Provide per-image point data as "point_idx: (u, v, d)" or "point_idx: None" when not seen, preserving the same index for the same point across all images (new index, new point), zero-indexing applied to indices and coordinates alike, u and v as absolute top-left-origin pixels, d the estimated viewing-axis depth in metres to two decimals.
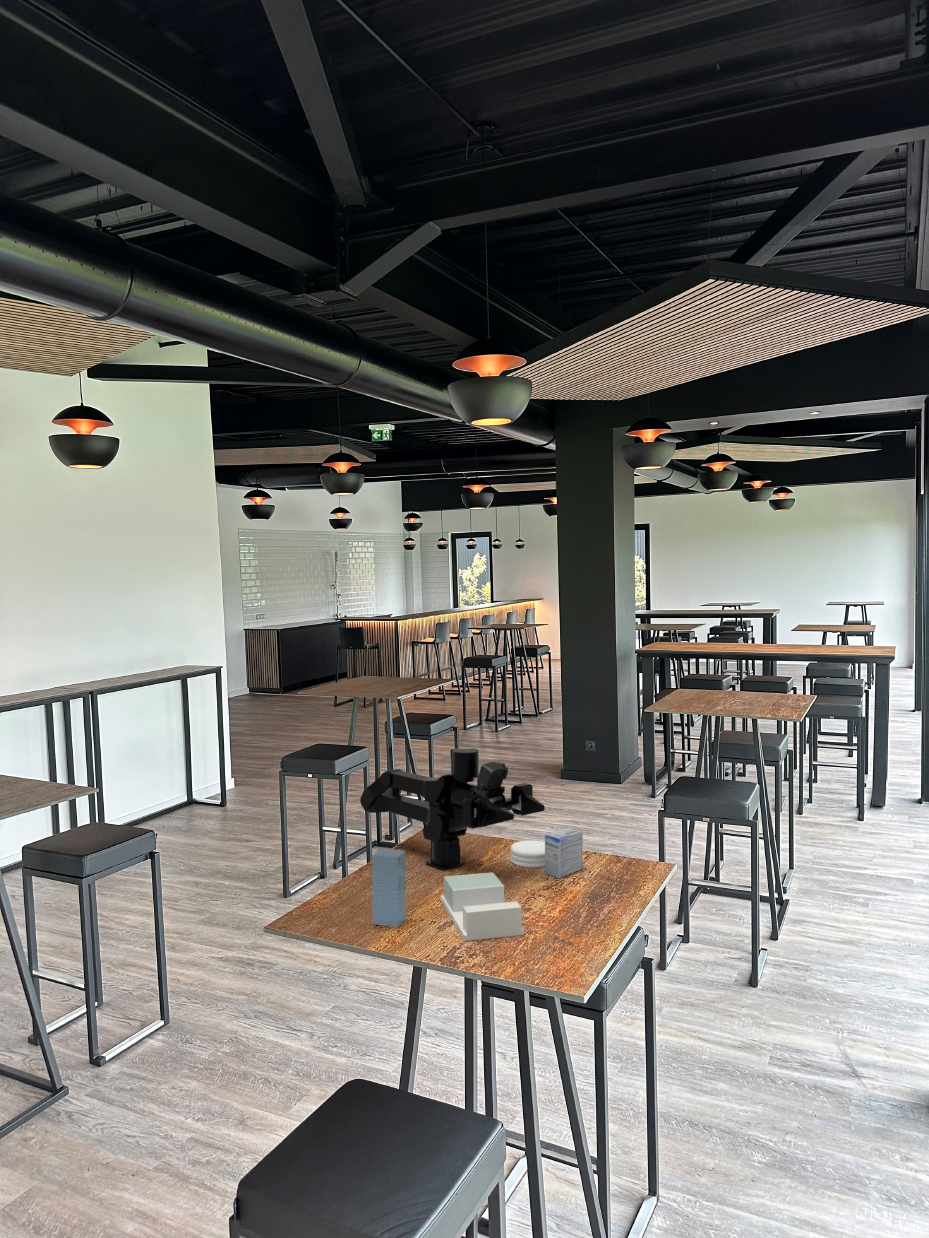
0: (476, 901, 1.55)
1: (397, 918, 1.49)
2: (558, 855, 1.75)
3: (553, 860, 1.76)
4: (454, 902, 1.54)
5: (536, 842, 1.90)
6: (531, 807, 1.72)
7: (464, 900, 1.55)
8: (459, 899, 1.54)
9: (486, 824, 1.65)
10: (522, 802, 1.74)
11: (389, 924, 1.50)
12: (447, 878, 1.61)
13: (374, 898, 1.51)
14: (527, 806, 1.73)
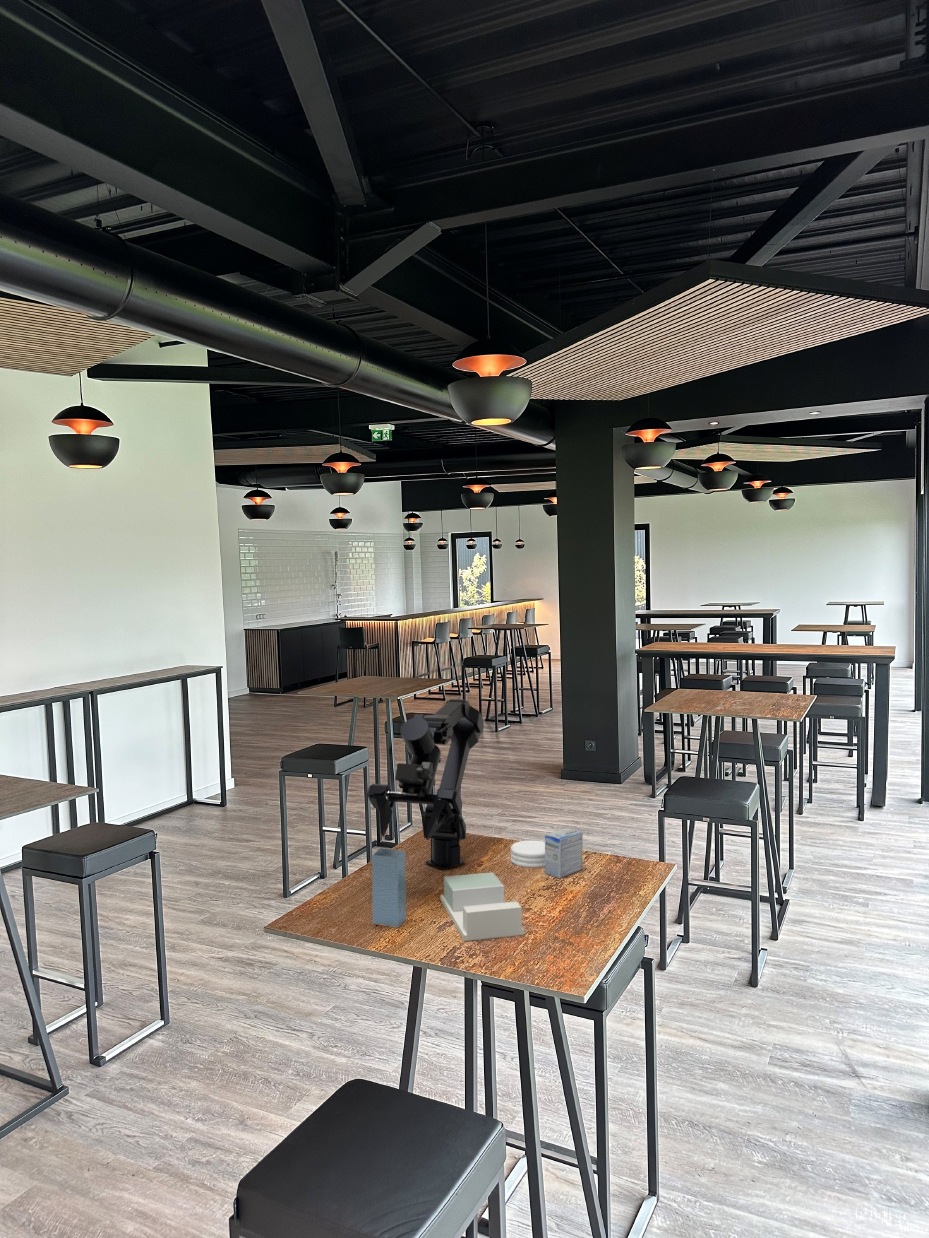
0: (476, 901, 1.55)
1: (397, 918, 1.49)
2: (558, 855, 1.75)
3: (553, 860, 1.76)
4: (454, 902, 1.54)
5: (536, 842, 1.90)
6: None
7: (464, 900, 1.55)
8: (459, 899, 1.54)
9: None
10: None
11: (389, 924, 1.50)
12: (447, 878, 1.61)
13: (374, 898, 1.51)
14: None
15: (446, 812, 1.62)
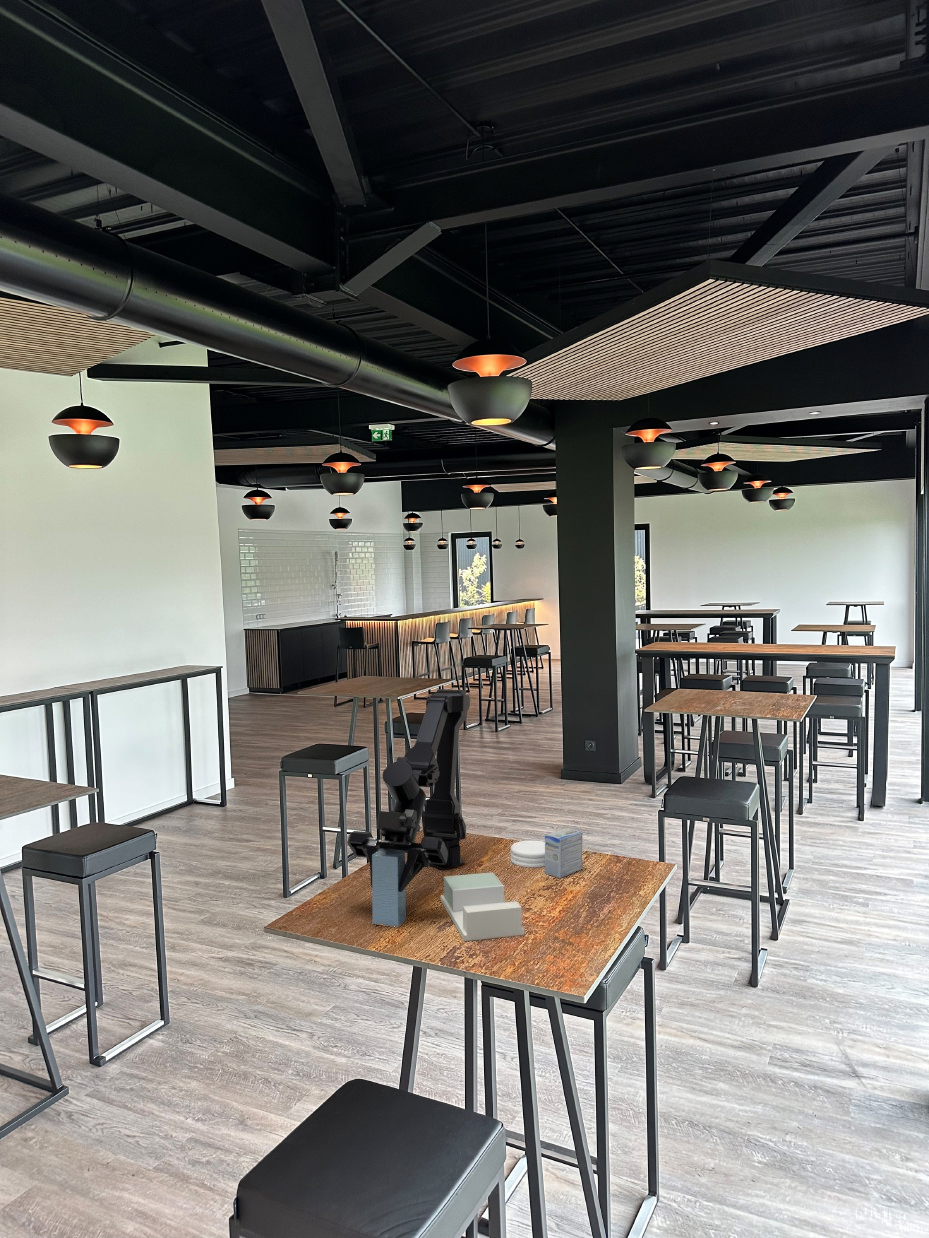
0: (476, 901, 1.55)
1: (397, 918, 1.49)
2: (558, 855, 1.75)
3: (553, 860, 1.76)
4: (454, 902, 1.54)
5: (536, 842, 1.90)
6: None
7: (464, 900, 1.55)
8: (459, 899, 1.54)
9: None
10: None
11: (389, 924, 1.50)
12: (447, 878, 1.61)
13: (374, 898, 1.51)
14: None
15: (421, 861, 1.54)
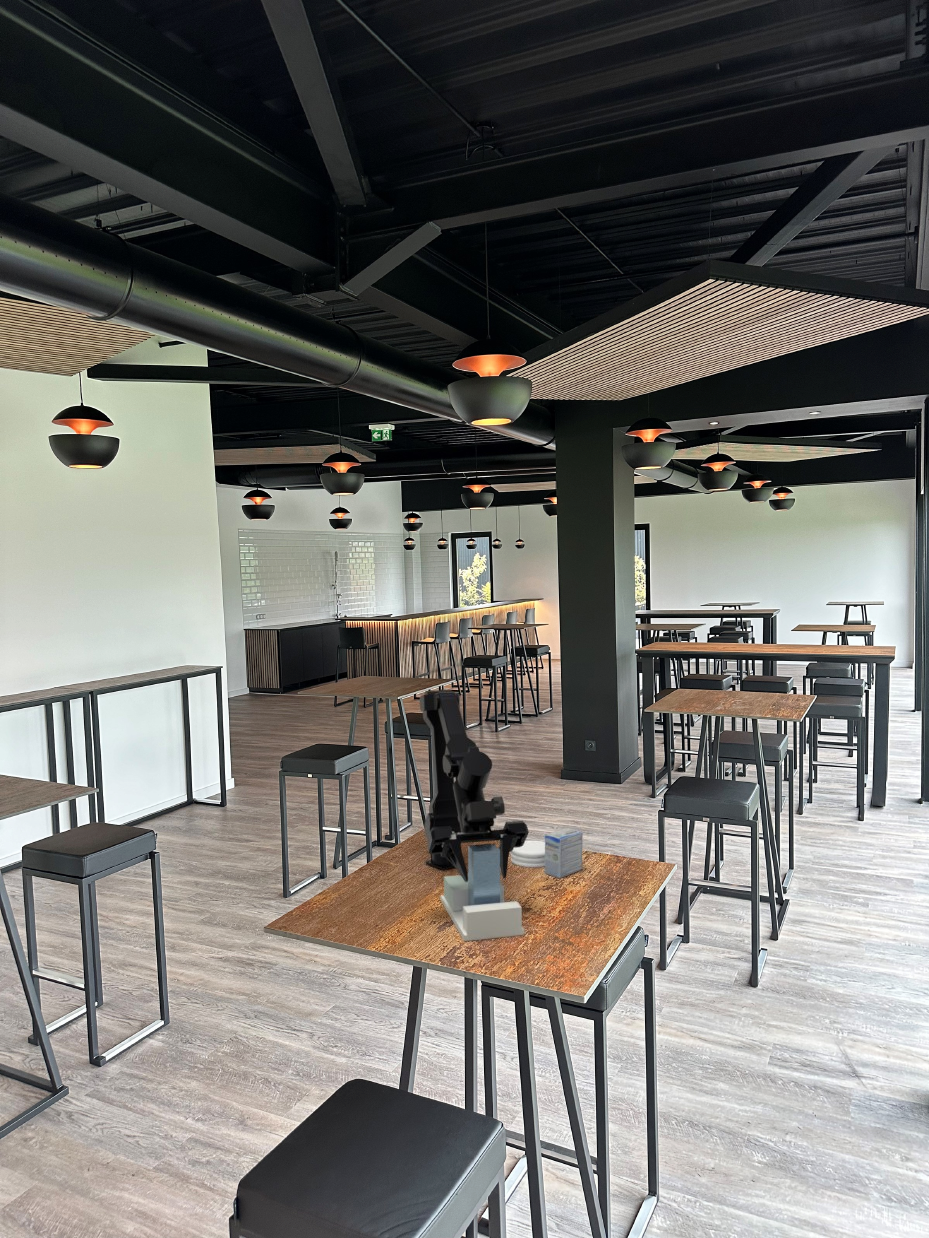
0: None
1: None
2: (558, 855, 1.75)
3: (553, 860, 1.76)
4: (454, 902, 1.54)
5: (536, 843, 1.90)
6: (500, 861, 1.54)
7: (464, 900, 1.55)
8: (459, 899, 1.54)
9: (449, 859, 1.54)
10: (500, 845, 1.55)
11: None
12: (447, 878, 1.61)
13: (475, 895, 1.49)
14: (500, 855, 1.54)
15: None
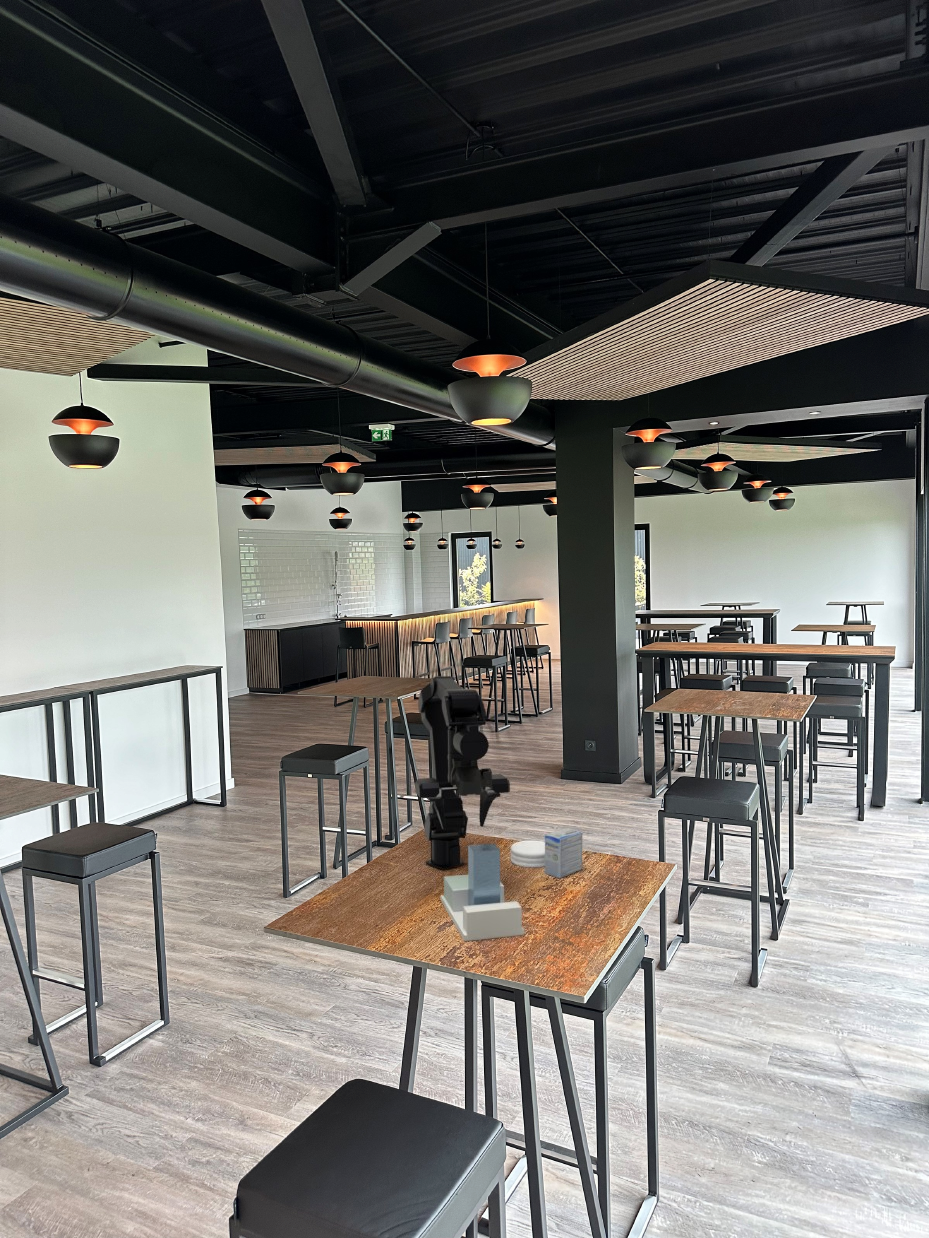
0: None
1: None
2: (558, 855, 1.75)
3: (553, 860, 1.76)
4: (454, 902, 1.54)
5: (536, 842, 1.90)
6: (481, 808, 1.69)
7: (464, 900, 1.55)
8: (459, 899, 1.54)
9: None
10: (483, 795, 1.68)
11: None
12: (447, 878, 1.61)
13: (475, 895, 1.49)
14: (481, 802, 1.69)
15: None
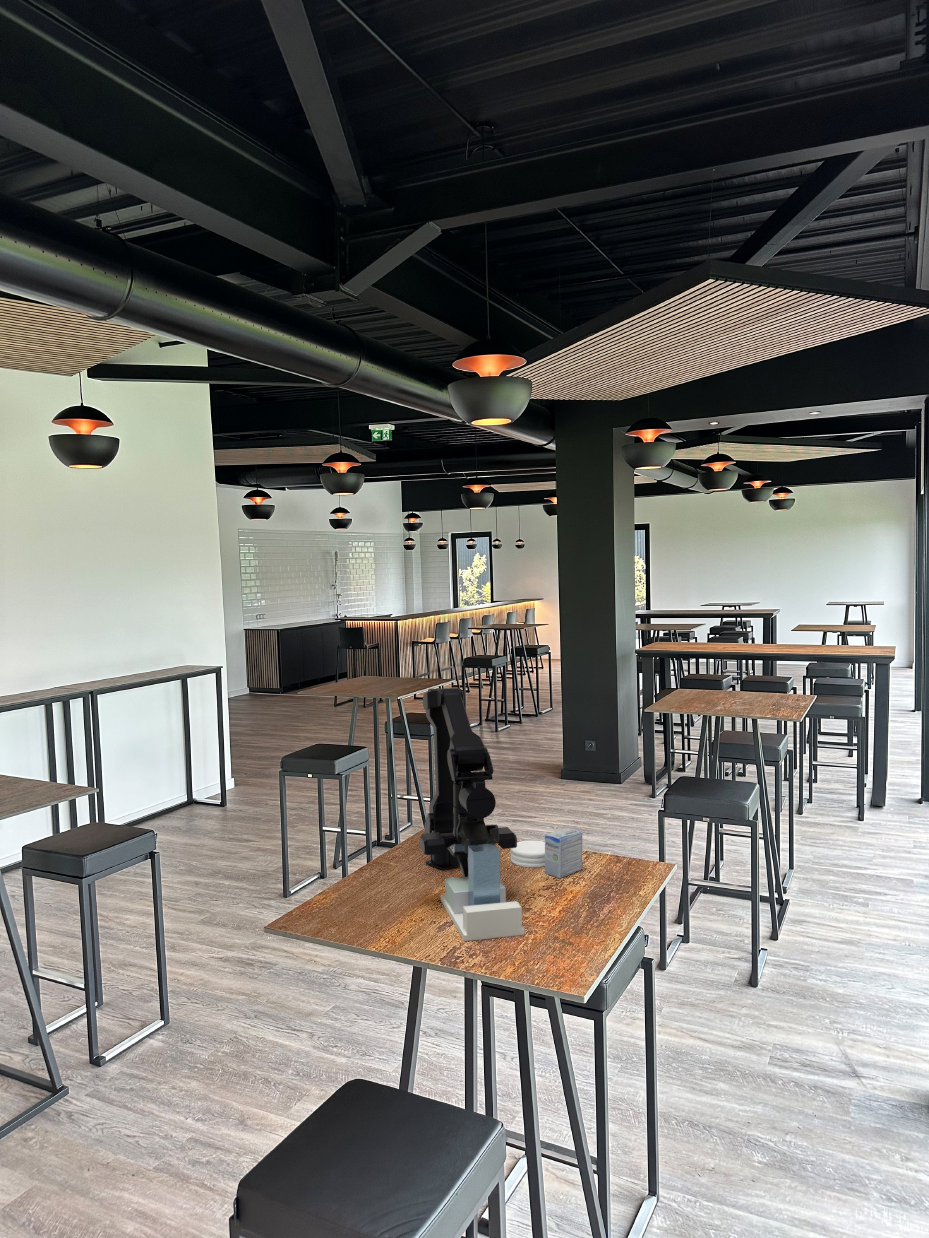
0: None
1: None
2: (558, 855, 1.75)
3: (553, 860, 1.76)
4: (455, 904, 1.53)
5: (536, 843, 1.90)
6: None
7: (465, 902, 1.54)
8: (460, 901, 1.53)
9: None
10: None
11: None
12: (448, 880, 1.60)
13: (475, 895, 1.49)
14: None
15: None
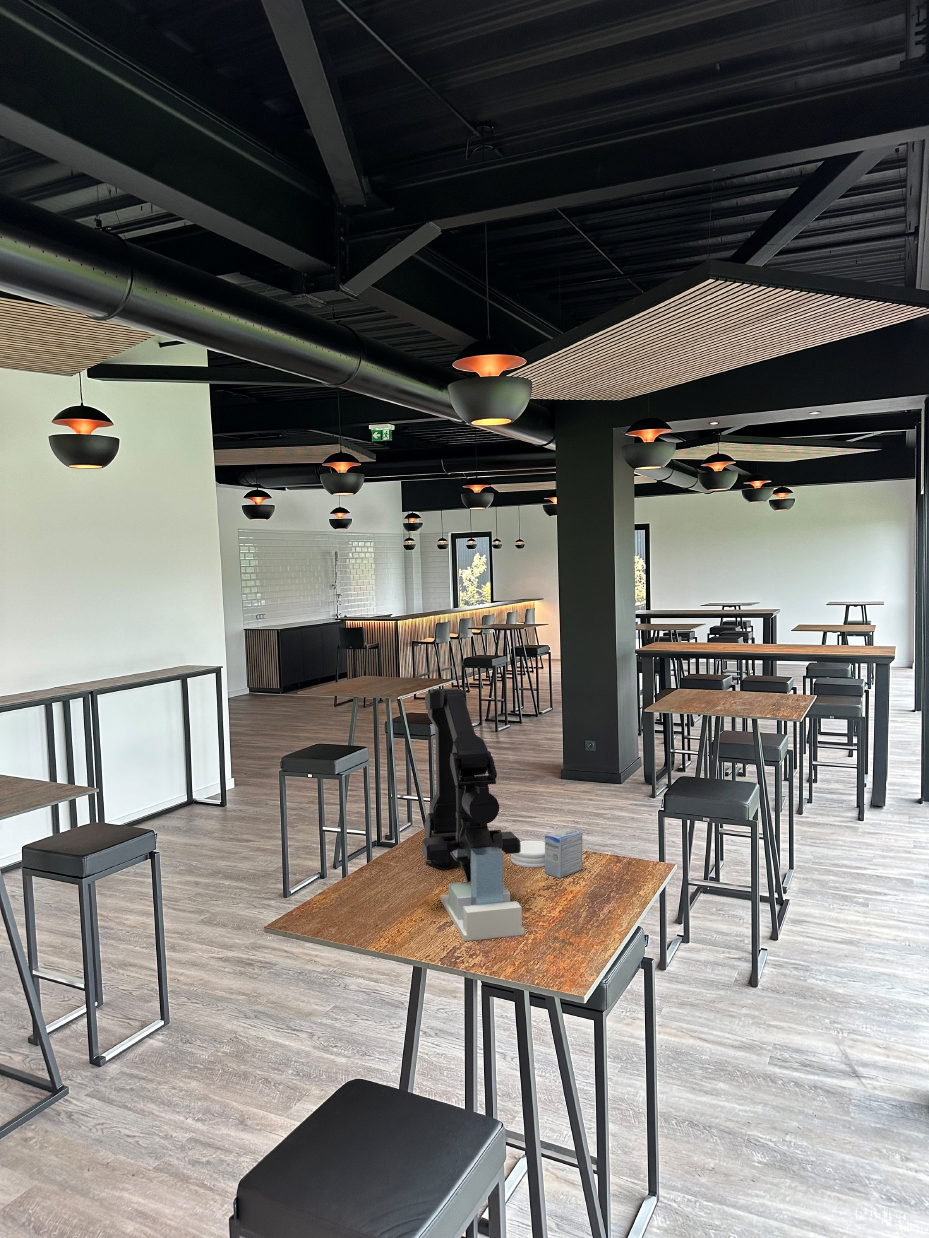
0: None
1: None
2: (558, 855, 1.75)
3: (553, 860, 1.76)
4: (459, 910, 1.50)
5: (536, 843, 1.90)
6: None
7: None
8: None
9: None
10: None
11: None
12: (452, 885, 1.57)
13: (478, 899, 1.47)
14: None
15: None
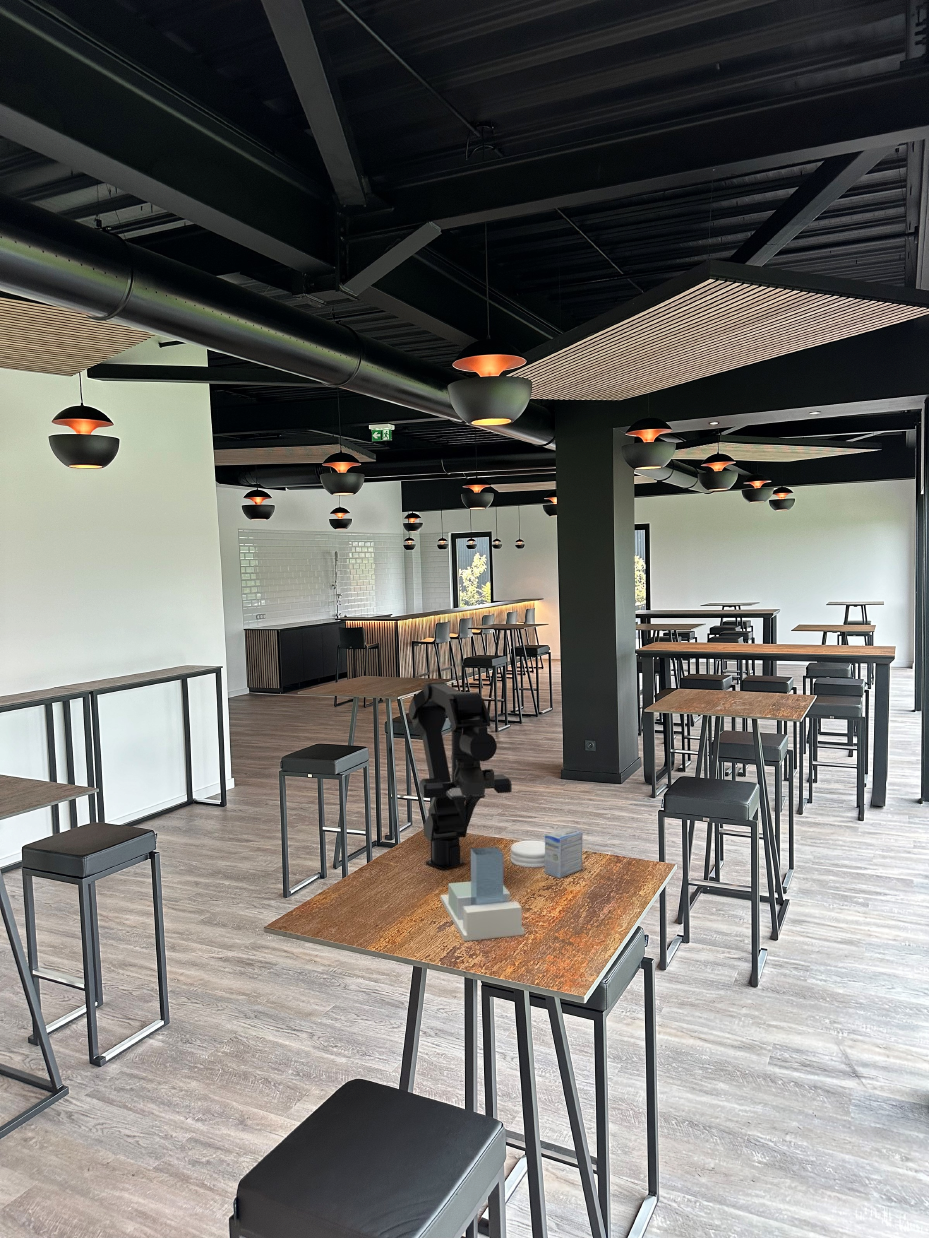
0: None
1: None
2: (558, 855, 1.75)
3: (553, 860, 1.76)
4: (459, 910, 1.50)
5: (536, 842, 1.90)
6: (466, 809, 1.73)
7: None
8: None
9: None
10: (468, 795, 1.72)
11: None
12: (452, 885, 1.57)
13: (478, 899, 1.47)
14: (466, 802, 1.73)
15: None
